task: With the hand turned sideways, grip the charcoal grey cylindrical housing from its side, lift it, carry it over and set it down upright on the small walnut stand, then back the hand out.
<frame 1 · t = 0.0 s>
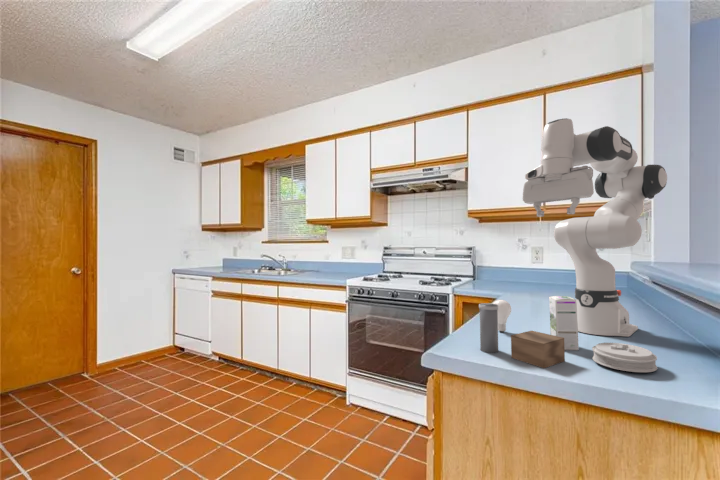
hand: (554, 215, 106), 39 cm above the counter, tool pointing down, fingers open, 8 cm apart
walnut stand: (537, 359, 90), on the counter
lightbulb: (501, 332, 118), on the counter
lid: (623, 367, 85), on the counter
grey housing: (489, 350, 98), on the counter
syrup box: (564, 348, 100), on the counter
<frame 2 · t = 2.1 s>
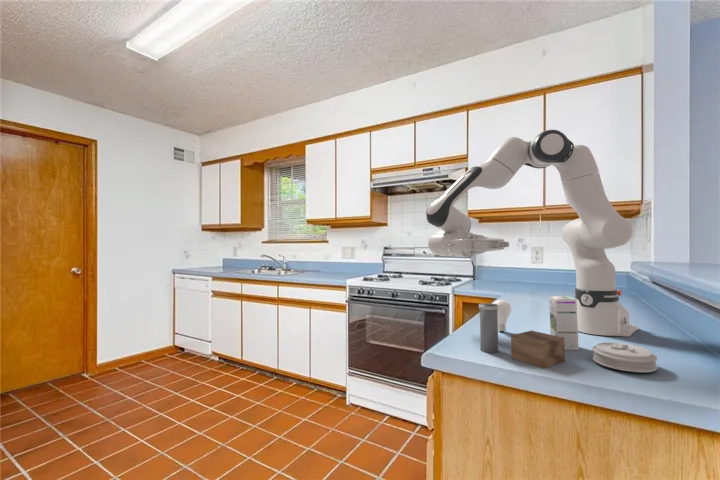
hand: (498, 244, 109), 30 cm above the counter, tool horizontal, fingers open, 8 cm apart
nothing on the counter moved.
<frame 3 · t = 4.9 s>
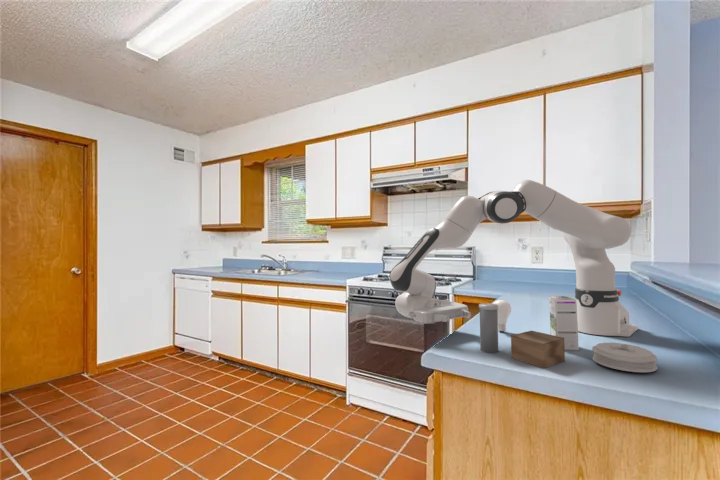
hand: (458, 317, 108), 7 cm above the counter, tool horizontal, fingers open, 8 cm apart
nothing on the counter moved.
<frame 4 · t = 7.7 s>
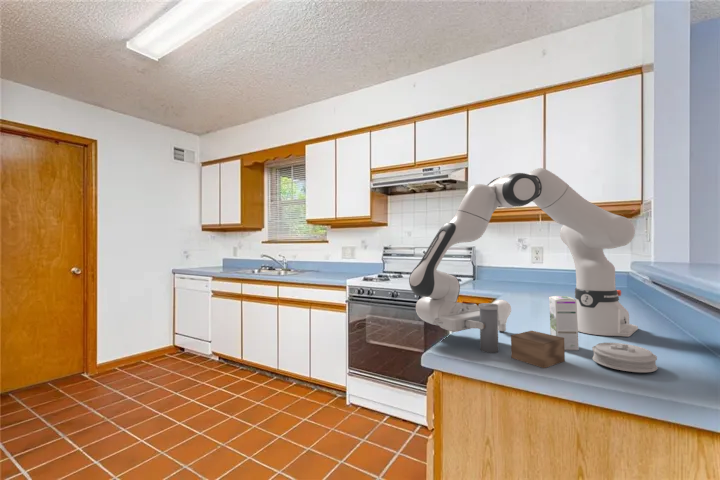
hand: (491, 324, 98), 8 cm above the counter, tool horizontal, fingers closed on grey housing, 5 cm apart
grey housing: (489, 350, 98), on the counter, touching gripper
everything else where it was.
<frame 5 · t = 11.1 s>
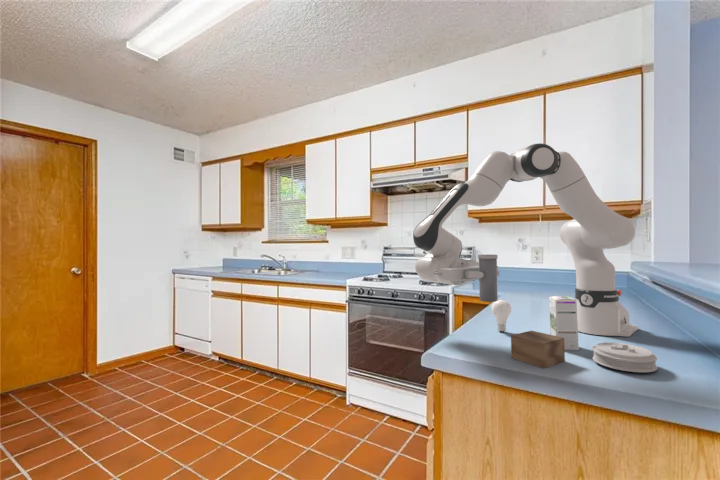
hand: (490, 274, 98), 22 cm above the counter, tool horizontal, fingers closed on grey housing, 5 cm apart
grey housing: (488, 300, 98), point 14 cm above the counter, touching gripper
everything else where it was.
when the fingers open (15 cm above the counter, at t = 14.4 s): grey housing drops 1 cm, resting on walnut stand.
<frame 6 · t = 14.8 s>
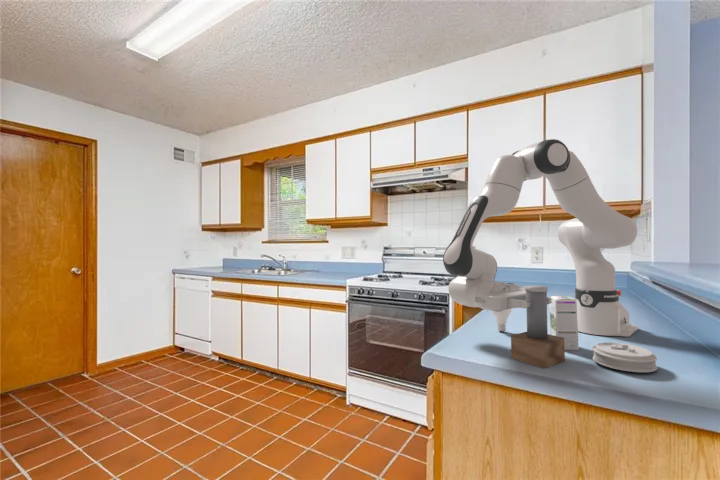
hand: (539, 302, 89), 15 cm above the counter, tool horizontal, fingers open, 8 cm apart
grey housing: (537, 336, 90), point 6 cm above the counter, touching walnut stand
everything else where it was.
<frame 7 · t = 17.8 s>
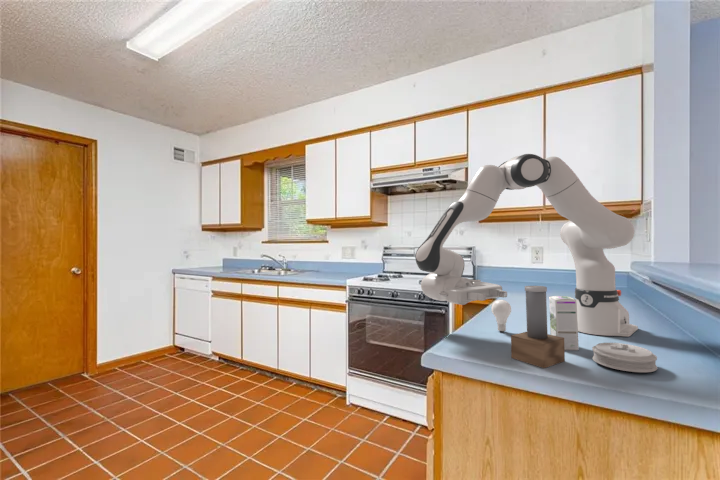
hand: (495, 296, 101), 15 cm above the counter, tool horizontal, fingers open, 8 cm apart
nothing on the counter moved.
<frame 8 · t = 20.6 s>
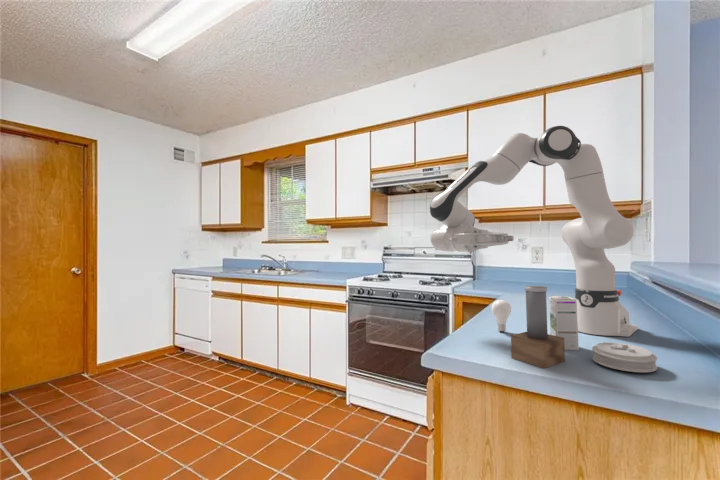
hand: (502, 238, 107), 32 cm above the counter, tool horizontal, fingers open, 8 cm apart
nothing on the counter moved.
at the end: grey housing 0.1 cm off-centre on the walnut stand, point 6.0 cm above the walnut stand's base; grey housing tilted 1°; the gripper is holding nothing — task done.
